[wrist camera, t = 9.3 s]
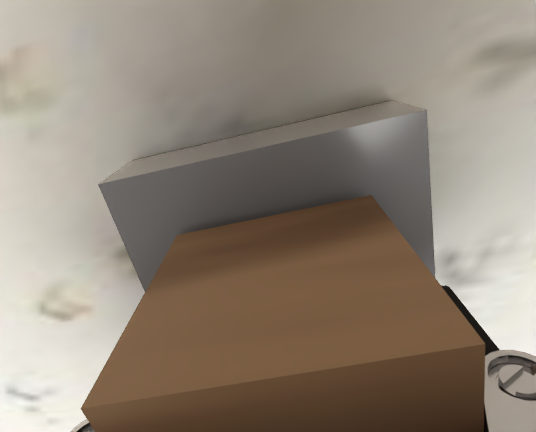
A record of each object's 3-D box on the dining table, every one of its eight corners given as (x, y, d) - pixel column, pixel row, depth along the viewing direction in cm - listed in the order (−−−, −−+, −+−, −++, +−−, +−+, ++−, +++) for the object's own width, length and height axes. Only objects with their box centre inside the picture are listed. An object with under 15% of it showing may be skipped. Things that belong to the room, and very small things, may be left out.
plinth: (132, 160, 14) (98, 184, 11) (392, 100, 13) (426, 109, 10) (207, 353, 18) (195, 407, 15) (411, 318, 17) (439, 369, 14)
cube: (176, 235, 11) (80, 408, 5) (371, 195, 10) (485, 344, 5) (228, 375, 13) (197, 597, 8) (389, 349, 13) (481, 568, 7)
